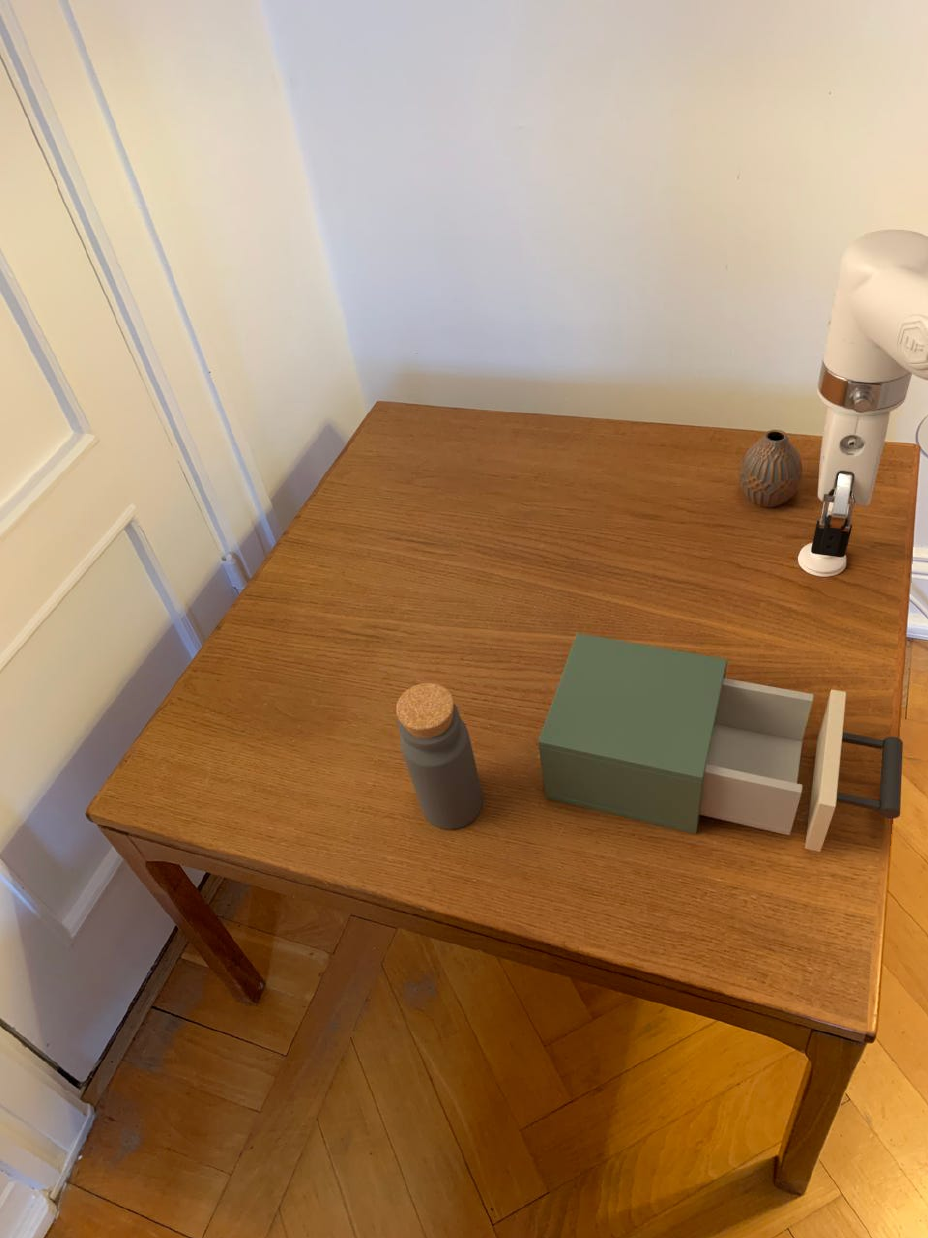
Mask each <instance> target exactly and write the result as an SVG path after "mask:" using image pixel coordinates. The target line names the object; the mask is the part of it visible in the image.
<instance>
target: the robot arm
mask: <svg viewBox="0 0 928 1238" xmlns="http://www.w3.org/2000/svg"><path fill="white" fill-rule="evenodd" d="M829 316H830V317H829V321H828V326H827V327H828V328H827V332H826V338H825V343H824V348H823V349H824V350H823V354H822V360H821V366H820V372H819V377H818V382H817V387H816V394H817V397H818V398H819V399H818V400H820V401H821V403H822V404H824V405H825V406H826V407H827V409H826V414H825V420H824V426H823V432H822V439H821V447H820V455H819V456H820V457H819V467H818V481H817V482H818V483H817V485H818V486H817V498H818V499H819V501H821V502H822V506H821V507H822V508H821V513H820V519H819V520H816V523H815V524H816V525H815V529H814V534H813V538H812V542H811V543H812V548H811V552H812V553H813V554H818V555H826V556H833V557H844V556H845V555H846V552H847V549H848V545H849V541H850V536H851V533H852V529H853V524H852V520H853V513H854V508H855V505H856V506H861V507H867V506H869V505H870V504H871V503H872V498H873V493H874V488H875V484H876V479H877V475H878V470H879V467H880V463H881V458H882V455H883V450H884V446H885V441H886V437H887V433H888V426H889V422H890V416H891V412H893V411H895V410H896V409H898V408H900V407H901V406H902V404H903V403H904V402H905V400H906V398H907V394H908V391H909V388H910V387H909V386H910V384H911V383H910V382H911V379H912V375H914V376H915V377H916V378H917V377H918V378H919V379H923V380H925V381H928V236H927V235H924V234H923V233H919V232H917V231H911V230H905V229H883V230H876V231H871V232H869V233H866V234H864V235H861V236H859V237H858V238H856V239H854V240H853V241H852V242H851V243H850V244H849V245H848V246H847V247H846V249H844V252H843V254H842V256H841V259H840V263H839V267H838V272H837V277H836V283H835V289H834V294H833V300H832V306H831V311H830V315H829ZM835 489H836V491H835ZM834 492H835V496H833V495H834ZM829 502H833V509H832V513H831V515H828V516H827V513H828V508H829ZM855 503H856V504H855Z"/></svg>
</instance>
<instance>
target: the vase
mask: <svg viewBox="0 0 928 1238" xmlns="http://www.w3.org/2000/svg"><path fill="white" fill-rule="evenodd" d="M802 477H803V462H802V458H801V455H800V452H799V451H798V448H796V446H795V445H794V444H793V443H792V442H791V441H790V439H789V437H788V434H787V433H786V432H785V431H783V430H781V429H770V430H768V431H766V432H765V433H764V435H763V436H762V437H761V438H760V439H759V440H757V441H756V442H755V443H753V444H752V445H751V446H750V447H749V448H748V449H747V450H746V452H745V453H744V455H743V457H742V460H741V462H740V464H739V470H738V481H739V487H740V489H741V492H742V494H743V496H744V497H745V498H746V499H747V500H748V501H749V502H751V503H752V504H754V505H755V506H758V507H762V508H773V507H777V506H780V505H782V504H784V503H787V501H789V500H790V499H792V497H793V496H794V495H795V494H796V493H797V490H798V489H799V486H800V484H801V481H802Z"/></svg>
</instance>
